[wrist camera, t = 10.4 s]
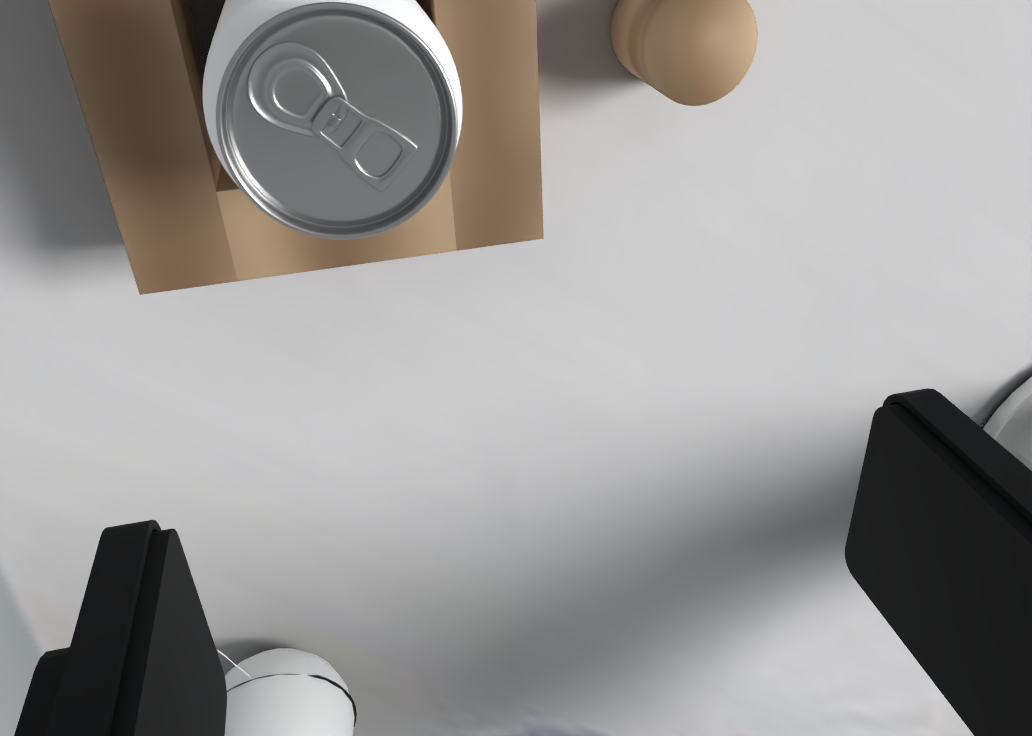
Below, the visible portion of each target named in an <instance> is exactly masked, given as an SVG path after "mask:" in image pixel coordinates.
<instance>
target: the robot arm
mask: <svg viewBox="0 0 1032 736" xmlns="http://www.w3.org/2000/svg"><path fill="white" fill-rule="evenodd" d="M845 559H846V563H847V566H848V569H849V571H850V573H851V574H852V576H853V577H854V579H855V580H856V581H857V583H858V584H859V585H860V587H861V588H862V589H863V590H864V592H865V593H866V594H867V596H868V597H869V598H870V600H871V601H872V602H873V604H874V605H875V606H876V608H877V609H878V610H879V611H880V613H881V614H882V615H883V617H884V618H885V619H886V621H887V622H888V623H889V625H890V626H891V627H892V628H893V630H894V631H895V632H896V634H897V635H898V636H899V638H900V639H901V640H902V642H903V643H904V644H905V645H906V647H907V648H908V649H909V651H910V652H911V653H912V655H913V656H914V657H915V659H916V660H917V661H918V663H919V664H920V665H921V666H922V668H923V669H924V670H925V672H926V673H927V674H928V676H929V677H930V678H931V680H932V681H933V682H934V683H935V685H936V686H937V687H938V689H939V690H940V691H941V693H942V694H943V695H944V697H945V698H946V699H947V700H948V702H949V703H950V704H951V706H952V707H953V708H954V710H955V711H956V712H957V714H958V715H959V716H960V717H961V719H962V720H963V721H964V723H965V724H966V725H967V727H968V728H969V729H970V731H971V732H972V733H973V735H974V736H1032V377H1030V378H1029V379H1028V380H1027V381H1025V382H1024V383H1023V384H1022V385H1021V386H1020V387H1018V388H1017V389H1016V390H1015V391H1014V392H1013V393H1012V394H1011V395H1010V396H1009V397H1008V398H1007V399H1006V400H1005V401H1004V402H1003V403H1002V404H1001V405H1000V406H999V408H998V409H997V410H996V411H995V413H994V414H993V415H992V417H991V418H990V419H989V421H988V422H987V424H986V425H985V426H984V428H983V429H982V428H981V427H979V426H978V425H977V424H976V423H975V422H974V421H972V420H971V419H970V418H969V417H968V416H967V415H965V414H964V413H963V412H962V411H961V410H959V409H958V408H957V407H956V406H955V405H954V404H952V403H951V402H950V401H949V400H948V399H947V398H945V397H944V396H943V395H942V394H941V393H939V392H938V391H936V390H934V389H922V390H916V391H910V392H904V393H898V394H893V395H890V396H888V397H887V398H886V400H885V401H884V403H883V406H882V407H880V408H878V409H877V410H876V411H875V413H874V416H873V420H872V425H871V429H870V434H869V439H868V444H867V448H866V453H865V458H864V462H863V467H862V472H861V476H860V481H859V486H858V490H857V495H856V500H855V504H854V509H853V514H852V519H851V523H850V528H849V533H848V537H847V542H846V547H845ZM226 711H227V689H226V681H225V676H224V672H223V669H222V666H221V663H220V660H219V657H218V654H217V651H216V648H215V645H214V642H213V639H212V636H211V633H210V630H209V627H208V624H207V621H206V618H205V614H204V611H203V608H202V605H201V602H200V599H199V596H198V593H197V590H196V587H195V584H194V581H193V578H192V575H191V572H190V569H189V566H188V563H187V560H186V557H185V554H184V551H183V548H182V545H181V542H180V539H179V536H178V534H177V532H176V530H175V529H167V530H162V531H161V528H160V526H159V524H158V523H157V522H156V521H155V520H149V521H143V522H137V523H131V524H125V525H120V526H114V527H108V528H105V529H104V530H103V532H102V534H101V537H100V540H99V544H98V548H97V551H96V555H95V559H94V562H93V566H92V569H91V573H90V577H89V580H88V584H87V588H86V591H85V595H84V598H83V602H82V606H81V609H80V613H79V617H78V620H77V624H76V627H75V631H74V635H73V638H72V642H71V646H70V647H69V648H63V649H58V650H53V651H48V652H45V653H44V655H43V656H42V657H41V658H40V659H39V661H38V664H37V666H36V668H35V671H34V674H33V677H32V680H31V684H30V687H29V690H28V693H27V697H26V699H25V703H24V706H23V709H22V713H21V716H20V719H19V722H18V725H17V728H16V732H15V735H14V736H225V724H226Z"/></svg>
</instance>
